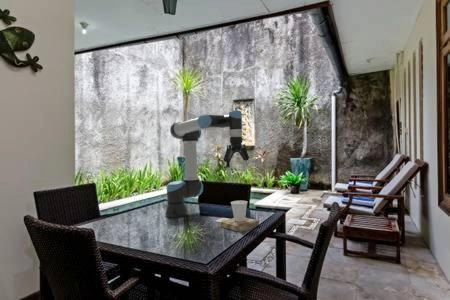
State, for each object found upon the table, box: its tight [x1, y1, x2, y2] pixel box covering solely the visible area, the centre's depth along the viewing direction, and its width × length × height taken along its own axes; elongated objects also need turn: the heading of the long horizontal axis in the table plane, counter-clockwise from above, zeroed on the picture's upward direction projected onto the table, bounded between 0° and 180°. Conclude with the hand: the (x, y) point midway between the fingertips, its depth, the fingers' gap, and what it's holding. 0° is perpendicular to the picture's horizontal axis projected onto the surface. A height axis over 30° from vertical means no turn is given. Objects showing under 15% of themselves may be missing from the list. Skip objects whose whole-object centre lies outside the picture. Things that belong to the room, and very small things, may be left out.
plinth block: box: [220, 217, 260, 233], centre depth 176 cm, size 16×16×3 cm
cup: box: [230, 200, 248, 222], centre depth 176 cm, size 10×10×11 cm
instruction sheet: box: [214, 217, 230, 223], centre depth 189 cm, size 12×9×1 cm
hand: (237, 172), depth 180 cm, fingers open, 13 cm apart
